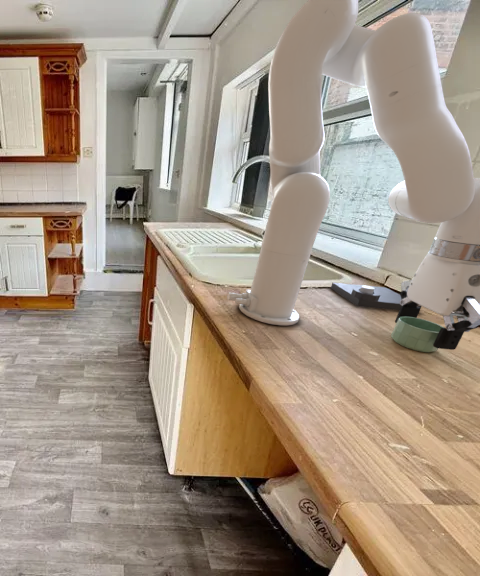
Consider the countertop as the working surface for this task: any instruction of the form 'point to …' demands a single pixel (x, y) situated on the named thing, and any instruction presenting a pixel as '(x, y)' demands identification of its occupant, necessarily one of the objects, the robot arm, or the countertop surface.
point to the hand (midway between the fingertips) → (422, 335)
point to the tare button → (367, 289)
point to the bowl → (416, 333)
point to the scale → (369, 296)
